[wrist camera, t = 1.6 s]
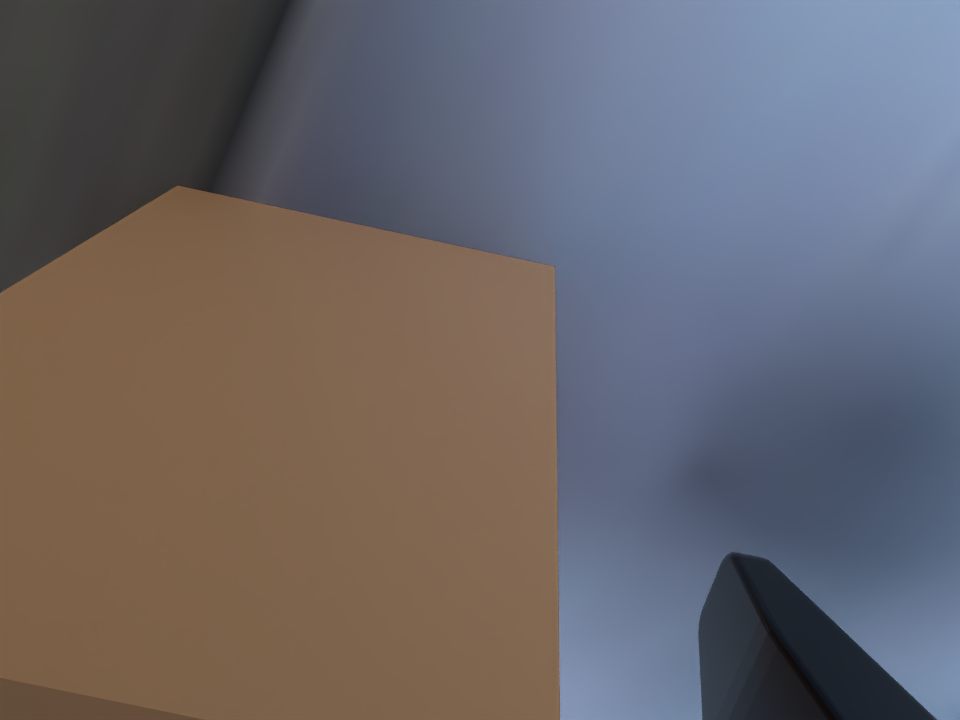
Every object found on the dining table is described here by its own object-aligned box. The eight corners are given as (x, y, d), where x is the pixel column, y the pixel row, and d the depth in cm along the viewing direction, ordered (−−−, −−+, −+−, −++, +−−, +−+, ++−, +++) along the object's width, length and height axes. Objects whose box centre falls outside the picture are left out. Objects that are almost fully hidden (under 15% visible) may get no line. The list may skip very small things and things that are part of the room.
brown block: (554, 265, 10) (560, 791, 4) (480, 563, 12) (399, 1243, 6) (178, 185, 10) (-476, 578, 4) (164, 497, 12) (-276, 1112, 6)
